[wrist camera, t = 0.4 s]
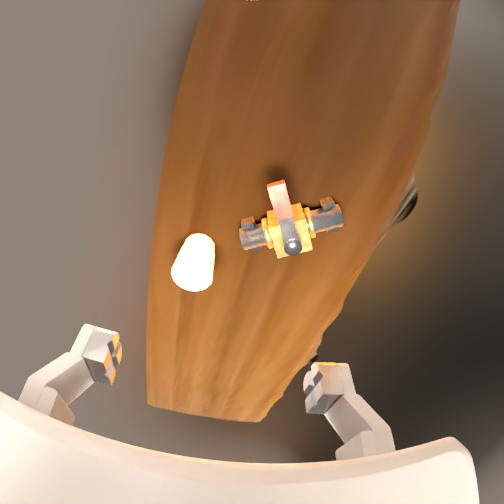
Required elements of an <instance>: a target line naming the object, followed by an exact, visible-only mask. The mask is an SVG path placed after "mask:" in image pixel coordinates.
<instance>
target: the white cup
mask: <svg viewBox="0 0 504 504" xmlns="http://www.w3.org/2000/svg"><path fill="white" fill-rule="evenodd" d="M214 258H215V244H214V242H213V241H212V239H211V238H210V237H208V236H207V235H205V234H201V233H196V234H191V235H190V236H189V237H187V238H186V240H185V243H184V245H183V246H182V248H181V250H180V252H179V254H178V256H177V258H176V260H175V263H174V265H173V267H172V271H171V274H172V278H173V280H174V281H175V282H176V284H177V285H179V286H180V287H182V288H183V289H186V290H189V291H200V290H203V289H205V288H207V287H208V286H209V285H210V284H211V282H212V279H213V269H214Z"/></svg>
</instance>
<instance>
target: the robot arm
mask: <svg viewBox="0 0 504 504" xmlns="http://www.w3.org/2000/svg"><path fill="white" fill-rule="evenodd" d="M118 341H119V334H118V333H117V332H113V331H109V330H106V329H102V328H99V327H96V326H92V325H88V324H85V325H84V326H83V327H82V329H81V331H80V333H79V335H78V337H77V339H76V341H75V343H74V345H73V347H72V349H71V351H70V353H68V352H66V353H65V354H63V355H62V356H60V357H59V358H57V359H56V360H54V361H52V362H51V363H49V364H48V365H46V366H45V367H43V368H42V369H40V370H39V371H37V372H36V373H34V374H33V375H31V376H29V378H28V380H27V382H26V384H25V386H24V388H23V391H22V393H21V396H20V398H19V400H18V401H16V400H15V399H13V398H11V397H9V396H7V395H5V394H4V393H2V392H0V504H479V495H478V487H477V480H476V474H475V469H474V464H473V460H472V457H471V455H470V452H469V451H468V450H467V449H466V448H465V447H464V446H463V445H462V444H461V443H460V442H459V441H458V440H456V439H455V438H453V437H446V438H443V439H440V440H437V441H433V442H430V443H427V444H423V445H419V446H415V447H412V448H407V449H403V450H398V451H396V450H395V446H394V442H393V438H392V434H391V430H390V427H389V426H388V425H387V424H386V423H385V422H384V420H383V419H382V418H381V417H380V416H379V415H378V414H377V413H376V412H375V411H374V410H373V409H372V408H371V407H370V406H369V405H368V404H367V403H366V402H365V401H364V400H363V399H362V397H361V396H360V395H356V392H355V388H354V384H353V381H352V377H351V373H350V369H349V366H348V364H346V363H325V362H315V363H313V364H312V366H311V371H309V372H307V374H306V375H305V378H304V383H303V388H304V392H305V394H306V395H307V396H308V397H307V398H306V400H305V405H306V412H307V413H315V414H324V415H325V417H326V418H327V420H328V421H329V422H330V424H331V425H332V426H333V428H334V429H335V431H336V432H337V433H338V435H339V436H340V437H341V439H342V440H343V442H344V443H345V444H344V445H343V446H342V447H340V448H339V449H337V450H336V460H337V461H327V462H314V463H291V464H263V463H240V462H227V461H216V460H207V459H200V458H192V457H186V456H180V455H174V454H169V453H163V452H158V451H154V450H149V449H145V448H141V447H137V446H133V445H129V444H125V443H122V442H118V441H115V440H111V439H108V438H105V437H102V436H99V435H95V434H93V433H90V432H87V431H84V430H81V429H79V428H76V427H73V426H72V425H73V422H74V419H75V416H74V414H73V413H72V411H71V410H70V409H69V407H68V406H67V405H69V404H70V403H71V402H72V401H73V400H75V399H76V398H77V397H78V396H79V395H80V394H81V393H82V392H84V390H86V389H87V388H88V387H89V386H90V385H92V384H93V383H94V381H95V382H99V383H103V384H106V385H110V386H112V384H113V381H114V378H115V375H116V372H115V367H116V366H118V365H119V363H120V360H121V353H122V347H121V344H120V343H119V342H118Z"/></svg>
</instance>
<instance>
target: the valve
mask: <svg viewBox="0 0 504 504" xmlns="http://www.w3.org/2000/svg"><path fill="white" fill-rule="evenodd" d="M320 204H321V208H320V209H315V210H311V211H310V209H309V207H306V208H303V209H302V206H301V204H300V203H298V204H294V205H291V208H292V212H293V216H294V217H293V221H294V225H295V229H296V233H297V237H299V238H300V240H301V244H302V251H301V252H300V253H302V252H306V251H310V250H313V249H312V245H311V240H310V237H311V238H314V237H316V233H317V232H321V231H325V230H327V233H331V232H335V231H339V227H341V226H344V221H343V216H342V212H341V209H340V206H339V205H338V204H336V205H335V202H334V201H333V199H332V197H331V196H330V197H326V198H322V199H320ZM303 210H304V212H303ZM267 218H268V219H267ZM267 218H263V219H261V222H262V223H260V224H256V223H255V220H254V217H253V216H251V217H247V218H243V219H241V227H242V228H241V229H239V237H240V242H241V245H242V247H243V249H244V250H248V249H250V252H254V251H258V250H262V246H264V245H267V246H268V248H273V247H274V248H275V251H276V254H277V258H281V257H286V256H290V255H288V254H286V253H285V251H284V246H283V242H284V239H283V235H282V232H281V228H280V225H279V221H277V219H276V216H275V212H274V210H270V211H267ZM309 234H310V235H309Z"/></svg>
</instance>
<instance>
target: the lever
mask: <svg viewBox="0 0 504 504" xmlns="http://www.w3.org/2000/svg"><path fill="white" fill-rule="evenodd" d="M267 189H268V192H269V195H270V199H271V202H272V205H273V209H274V212H275V216H276V219H277V221H279V225H280V228H281V232H282V235H283V239H284V242H283V246H284V251H285V253H286V254H288V255H290V256H295V255H298V254H299V253H300V252H301V251H302V244H301V240H300V238H299V237H297V233H296V229H295V225H294V221H293V217H294V216H293V212H292V208H291V204H290V201H289V197H288V193H287V189H286V186H285V182H284V180H281V181H277V182H274V183H270V184H267Z"/></svg>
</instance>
